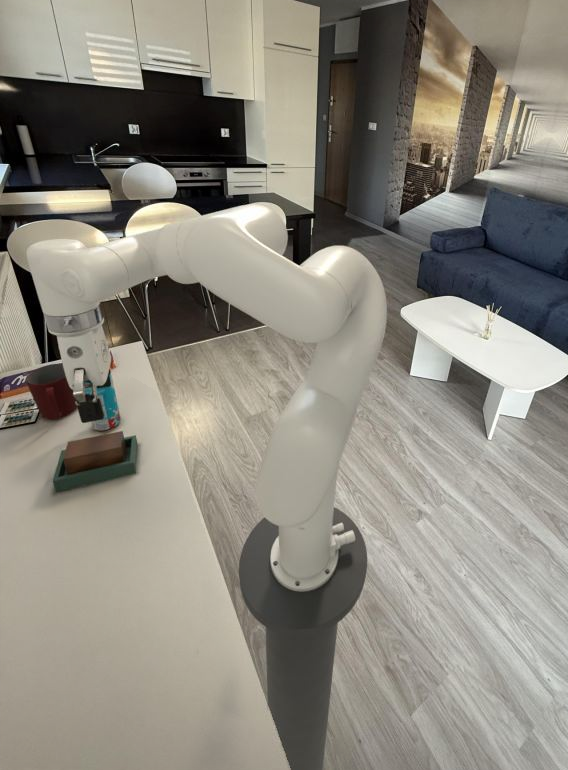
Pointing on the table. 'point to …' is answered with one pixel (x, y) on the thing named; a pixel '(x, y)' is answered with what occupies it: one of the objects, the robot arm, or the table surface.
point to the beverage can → (106, 408)
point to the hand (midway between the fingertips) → (97, 402)
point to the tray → (96, 470)
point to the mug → (51, 391)
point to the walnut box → (95, 452)
